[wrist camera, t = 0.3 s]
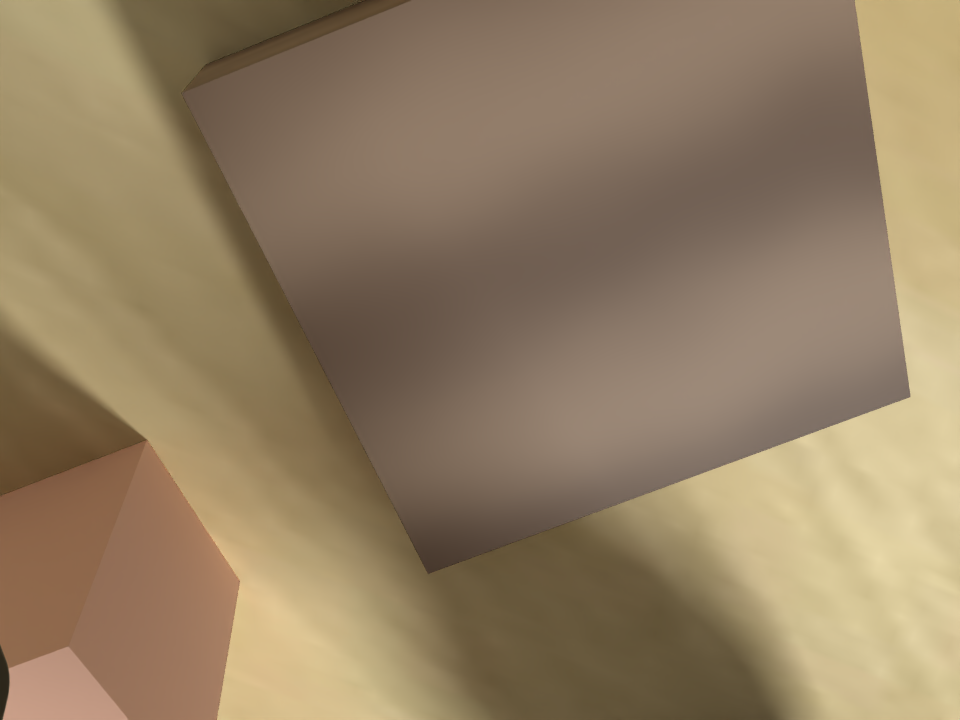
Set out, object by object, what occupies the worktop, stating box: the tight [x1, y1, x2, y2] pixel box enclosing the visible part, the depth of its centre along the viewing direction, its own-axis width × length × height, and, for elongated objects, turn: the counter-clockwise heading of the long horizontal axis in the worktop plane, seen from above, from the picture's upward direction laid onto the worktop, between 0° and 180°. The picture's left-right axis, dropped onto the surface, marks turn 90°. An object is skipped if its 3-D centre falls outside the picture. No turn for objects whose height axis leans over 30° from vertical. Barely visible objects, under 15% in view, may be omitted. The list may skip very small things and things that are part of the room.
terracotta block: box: [0, 440, 240, 720], centre depth 21 cm, size 5×5×7 cm
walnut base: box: [181, 0, 910, 574], centre depth 20 cm, size 12×12×3 cm
